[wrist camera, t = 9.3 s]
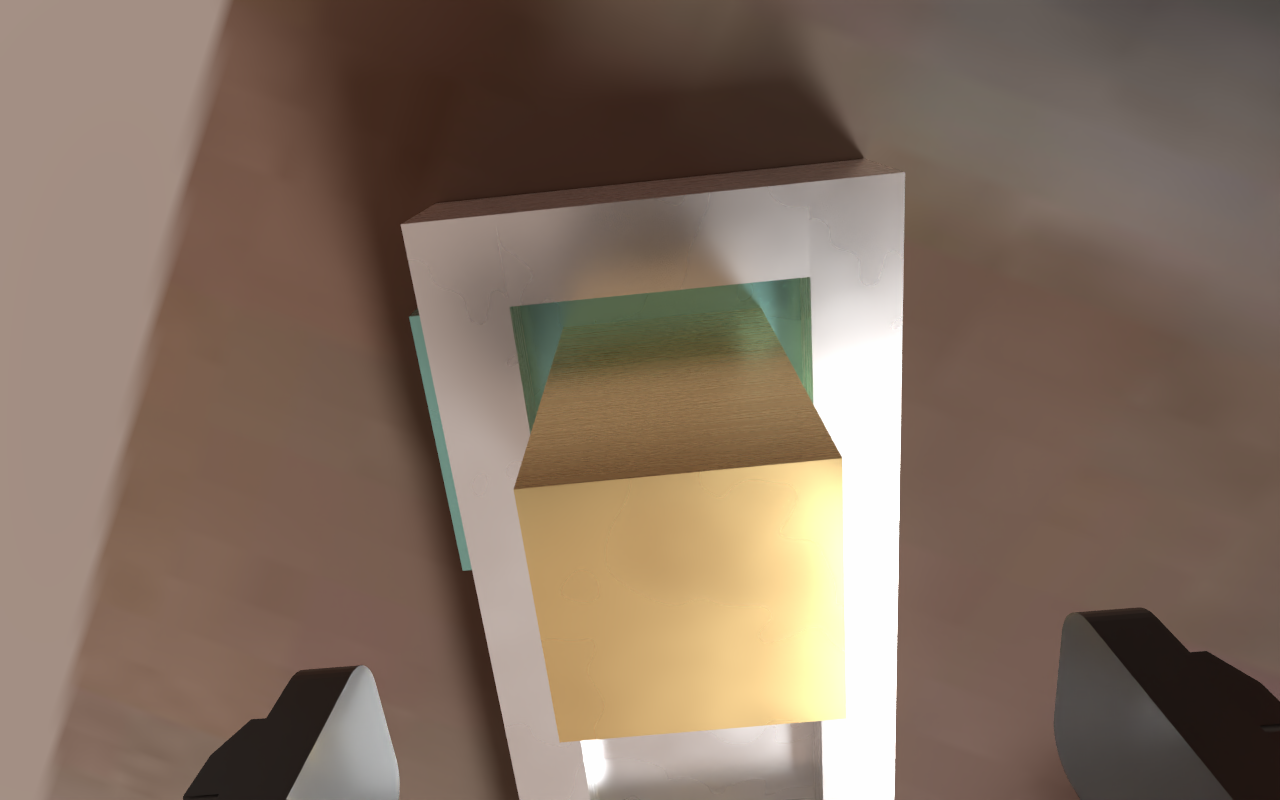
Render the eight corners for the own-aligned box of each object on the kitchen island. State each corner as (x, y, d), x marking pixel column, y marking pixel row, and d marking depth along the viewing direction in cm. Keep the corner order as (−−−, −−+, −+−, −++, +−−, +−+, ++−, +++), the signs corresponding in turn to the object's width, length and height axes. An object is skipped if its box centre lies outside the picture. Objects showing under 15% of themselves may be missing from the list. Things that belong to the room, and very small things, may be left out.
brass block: (760, 307, 16) (842, 458, 10) (770, 484, 18) (846, 718, 11) (563, 327, 16) (513, 489, 10) (588, 501, 18) (559, 743, 11)
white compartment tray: (865, 158, 17) (905, 172, 14) (865, 991, 26) (889, 1087, 24) (426, 204, 17) (390, 225, 15) (582, 1010, 27) (576, 1107, 24)
